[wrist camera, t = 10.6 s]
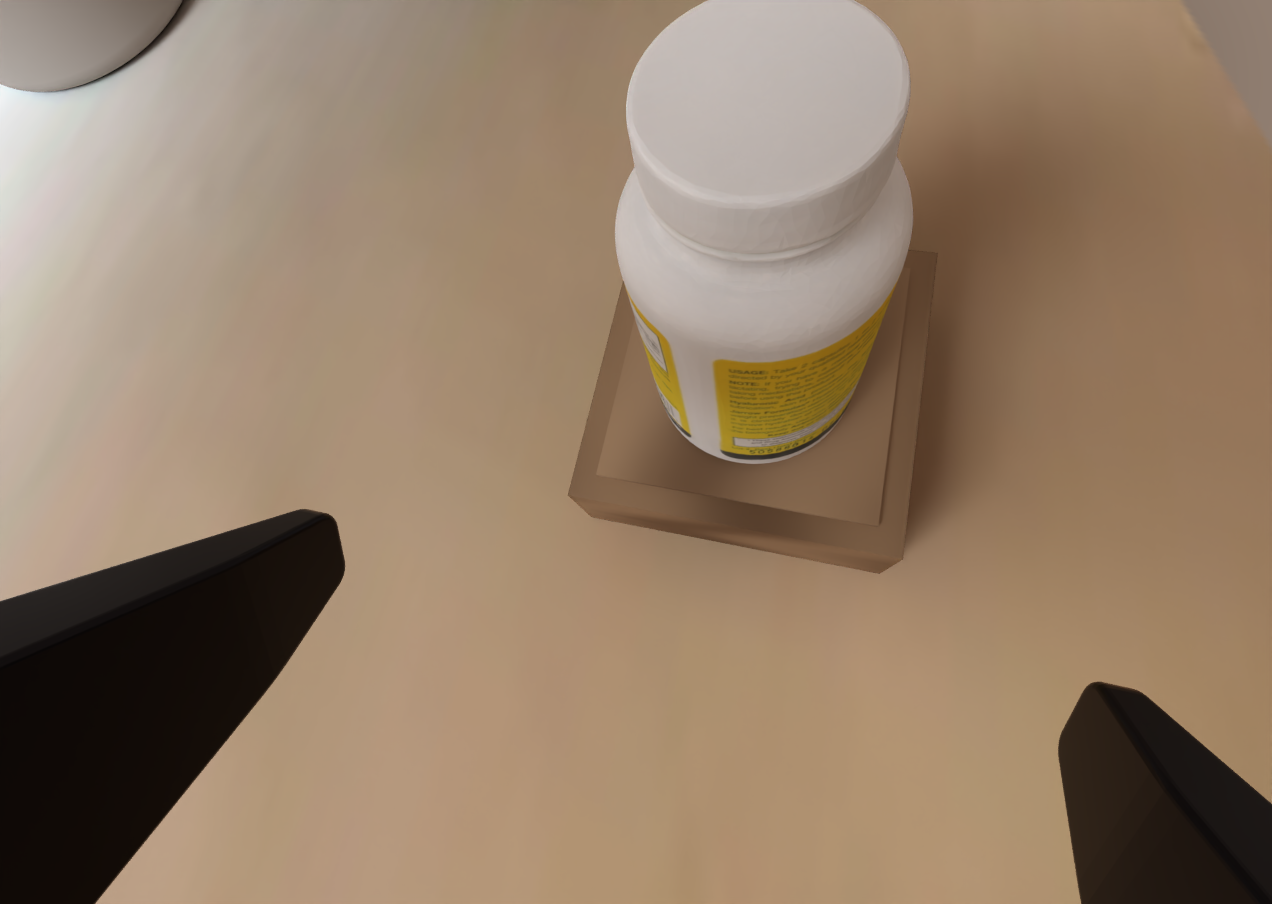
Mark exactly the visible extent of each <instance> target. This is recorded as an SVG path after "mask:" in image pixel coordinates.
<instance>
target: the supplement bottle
mask: <svg viewBox="0 0 1272 904" xmlns="http://www.w3.org/2000/svg"><path fill="white" fill-rule="evenodd" d="M910 84H911V80H910V71H909V65H908V60H907V58H906V55H905V53H904V51H903V48H902V46H901V45H900V43H899V41H898V39H897V37H896V36H895V34H894V33H893V31H892V30H891V29H890V28H889V27H888V26H887V25H886V24H885V22H884V21H883V20H882V19H881V18H880V17H878V16H877V15H876V14H874V13H873V12H872V11H870V10H869V9H868V8H867V7H865V6H863V5H861V4H860V3H858V2H856V1H854V0H708V1H706V2H703V3H701V4H700V5H698V6H696V7H694V8H693V9H691V10H689V11H688V12H686V13H685V14H683V15H681V16H680V17H678V18H677V19H676V20H675V21H673V22H672V23H671V24H670V25H669V26H667V27H666V28H665V29H664V30H663V31H662V32H661V33H660V34H659V35H658V36H657V37H656V38H655V39H654V41H653V42H652V43H651V45H650V46H649V47H648V48H647V50H646V51H645V52H644V54H643V55H642V57H641V59H640V60H639V62H638V64H637V66H636V68H635V70H634V72H633V75H632V78H631V81H630V84H629V89H628V94H627V103H626V121H627V128H628V133H629V138H630V143H631V149H632V155H633V160H634V165H635V167H634V169H633V170H632V172H631V174H630V176H629V178H628V180H627V182H626V185H625V187H624V190H623V192H622V194H621V198H620V201H619V205H618V209H617V215H616V223H615V242H616V252H617V257H618V262H619V266H620V270H621V274H622V278H623V281H624V284H625V288H626V291H627V294H628V297H629V300H630V303H631V307H632V310H633V313H634V316H635V320H636V323H637V326H638V329H639V332H640V336H641V338H642V341H643V345H644V348H645V351H646V354H647V357H648V361H649V364H650V368H651V371H652V373H653V377H654V380H655V383H656V387H657V389H658V392H659V395H660V398H661V401H662V403H663V406H664V408H665V410H666V412H667V414H668V416H669V418H670V419H671V421H672V422H673V424H674V425H675V427H676V428H677V429H678V430H679V431H680V432H681V434H682V435H683V436H684V437H685V438H687V439H688V440H689V441H690V442H691V443H693V444H694V445H695V446H697V447H698V448H700V449H701V450H703V451H705V452H707V453H709V454H711V455H713V456H716V457H718V458H721V459H724V460H728V461H732V462H738V463H746V464H764V463H772V462H777V461H781V460H785V459H788V458H791V457H793V456H796V455H798V454H801V453H802V452H804V451H806V450H808V449H810V448H811V447H813V446H814V445H816V444H817V443H819V442H820V441H821V440H822V439H823V438H825V437H826V436H827V435H828V434H829V433H830V432H831V430H832V429H833V428H834V427H835V426H836V424H837V423H838V422H839V420H840V419H841V417H842V416H843V414H844V412H845V411H846V409H847V407H848V405H849V403H850V401H851V398H852V396H853V393H854V391H855V389H856V386H857V384H858V381H859V379H860V377H861V374H862V372H863V369H864V367H865V365H866V362H867V359H868V356H869V354H870V351H871V349H872V346H873V343H874V341H875V338H876V336H877V333H878V330H879V327H880V325H881V322H882V319H883V317H884V314H885V312H886V309H887V307H888V304H889V302H890V299H891V297H892V294H893V291H894V289H895V287H896V284H897V282H898V279H899V277H900V274H901V271H902V269H903V266H904V262H905V259H906V256H907V252H908V248H909V245H910V241H911V235H912V228H913V205H912V197H911V191H910V187H909V183H908V180H907V177H906V175H905V172H904V170H903V167H902V165H901V163H900V161H899V159H898V157H897V151H898V145H899V141H900V137H901V134H902V130H903V126H904V123H905V119H906V116H907V112H908V106H909V100H910Z"/></svg>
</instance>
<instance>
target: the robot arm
mask: <svg viewBox="0 0 1272 904" xmlns="http://www.w3.org/2000/svg"><path fill="white" fill-rule="evenodd" d="M344 571H345V560H344V555H343V550H342V545H341V541H340V536H339V531H338V526H337V523H336V521H335V519H334V518H333V517H332V516H331V515H329V514H327V513H322V512H318V511H313V510H308V509H300V510H296V511H293V512H289V513H286V514H283V515H280V516H276V517H273V518H270V519H267V520H263V521H260V522H257V523H253V524H250V525H247V526H244V527H240V528H237V529H234V530H231V531H227V532H224V533H221V534H218V535H214V536H211V537H208V538H205V539H201V540H198V541H195V542H192V543H188V544H185V545H182V546H179V547H175V548H172V549H169V550H166V551H162V552H159V553H156V554H153V555H149V556H146V557H143V558H140V559H136V560H133V561H130V562H126V563H123V564H120V565H117V566H113V567H110V568H107V569H104V570H100V571H97V572H94V573H91V574H87V575H84V576H81V577H78V578H74V579H71V580H68V581H65V582H61V583H58V584H55V585H52V586H48V587H45V588H42V589H39V590H35V591H32V592H29V593H26V594H22V595H19V596H16V597H13V598H9V599H6V600H3V601H0V904H95V903H96V902H97V901H98V899H99V898H100V897H101V896H102V894H103V893H104V892H105V891H106V890H107V888H108V887H109V886H110V885H111V883H112V882H113V881H114V880H115V878H116V877H117V876H118V875H119V873H120V872H121V871H122V870H123V868H124V867H125V866H126V865H127V863H128V862H129V861H130V860H131V859H132V857H133V856H134V855H135V854H136V852H137V851H138V850H139V849H140V847H141V846H142V845H143V844H144V842H145V841H146V840H147V839H148V837H149V836H150V835H151V834H152V832H153V831H154V830H155V829H156V828H157V826H158V825H159V824H160V823H161V821H162V820H163V819H164V818H165V816H166V815H167V814H168V813H169V811H170V810H171V809H172V808H173V806H174V805H175V804H176V803H177V802H178V800H179V799H180V798H181V797H182V795H183V794H184V793H185V792H186V790H187V789H188V788H189V787H190V785H191V784H192V783H193V782H194V780H195V779H196V778H197V777H198V775H199V774H200V773H201V772H202V771H203V769H204V768H205V767H206V766H207V764H208V763H209V762H210V761H211V759H212V758H213V757H214V756H215V754H216V753H217V752H218V751H219V749H220V748H221V747H222V746H223V744H224V743H225V742H226V741H227V740H228V738H229V737H230V736H231V735H232V733H233V732H234V731H235V730H236V728H237V727H238V726H239V725H240V723H241V722H242V721H243V720H244V718H245V717H246V716H247V715H248V713H249V712H250V711H251V710H252V709H253V707H254V706H255V705H256V704H257V702H258V701H259V700H260V699H261V697H262V696H263V695H264V694H265V692H266V691H267V690H268V688H269V687H270V686H271V684H272V683H273V682H274V681H275V679H276V678H277V676H278V675H279V674H280V672H281V671H282V669H283V668H284V666H285V665H286V664H287V662H288V661H289V659H290V658H291V656H292V655H293V653H294V652H295V650H296V649H297V647H298V646H299V644H300V643H301V641H302V640H303V638H304V637H305V635H306V634H307V632H308V631H309V629H310V628H311V626H312V625H313V623H314V622H315V620H316V619H317V617H318V616H319V614H320V613H321V611H322V610H323V608H324V607H325V605H326V604H327V602H328V601H329V599H330V598H331V596H332V595H333V593H334V592H335V590H336V589H337V587H338V586H339V584H340V582H341V580H342V578H343V576H344ZM1058 756H1059V763H1060V770H1061V777H1062V783H1063V790H1064V796H1065V803H1066V810H1067V816H1068V823H1069V829H1070V836H1071V843H1072V849H1073V856H1074V862H1075V869H1076V876H1077V882H1078V888H1079V893H1080V899H1081V904H1272V804H1271V803H1270V802H1269V801H1268V800H1267V799H1265V798H1264V797H1263V796H1262V795H1261V794H1260V793H1258V792H1257V791H1256V790H1255V789H1254V788H1253V787H1251V786H1250V785H1249V784H1248V783H1247V782H1246V781H1244V780H1243V779H1242V778H1241V777H1240V776H1239V775H1237V774H1236V773H1235V772H1234V771H1233V770H1232V769H1231V768H1229V767H1228V766H1227V765H1226V764H1225V763H1224V762H1222V761H1221V760H1220V759H1219V758H1218V757H1217V756H1215V755H1214V754H1213V753H1212V752H1211V751H1210V750H1208V749H1207V748H1206V747H1205V746H1204V745H1203V744H1202V743H1200V742H1199V741H1198V740H1197V739H1196V738H1195V737H1193V736H1192V735H1191V734H1190V733H1189V732H1188V731H1186V730H1185V729H1184V728H1183V727H1182V726H1181V725H1179V724H1178V723H1177V722H1176V721H1175V720H1174V719H1172V718H1171V717H1170V716H1169V715H1168V714H1167V713H1166V712H1164V711H1163V710H1162V709H1161V708H1160V707H1159V706H1157V705H1156V704H1155V703H1154V702H1153V701H1152V700H1150V699H1149V698H1148V697H1147V696H1146V695H1144V694H1143V693H1141V692H1139V691H1137V690H1135V689H1131V688H1127V687H1122V686H1118V685H1113V684H1108V683H1104V682H1093V683H1091V684H1089V685H1088V686H1087V687H1086V688H1085V690H1084V691H1083V693H1082V695H1081V696H1080V698H1079V700H1078V702H1077V704H1076V706H1075V708H1074V710H1073V712H1072V713H1071V715H1070V717H1069V719H1068V721H1067V723H1066V725H1065V727H1064V729H1063V730H1062V733H1061V735H1060V739H1059V746H1058Z"/></svg>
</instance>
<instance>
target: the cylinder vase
mask: <svg viewBox="0 0 1272 904" xmlns="http://www.w3.org/2000/svg"><path fill="white" fill-rule="evenodd" d="M181 2H182V0H0V84H2V85H4V86H7V87H10V88H14V89H18V90H23V91H31V92H49V91H58V90H64V89H68V88H72V87H76V86H79V85H83V84H85V83H88V82H91V81H93V80H95V79H98V78H100V77H102V76H104V75H106V74H108V73H110V72H112V71H114V70H115V69H117V68H119V67H120V66H122V65H123V64H125V63H126V62H128V61H129V60H131V59H132V58H133V57H135V56H136V55H137V54H139V53H140V52H141V51H142V50H143V49H145V48H146V47H147V46H148V45H149V44H150V43H151V42H152V41H153V40H154V39H155V38H156V37H157V36H158V35H159V34H160V33H161V32H162V30H163V29H164V28H165V27H166V26H167V24H168V23H169V22H170V20H171V19H172V17H173V16H174V14H175V13H176V11H177V10H178V8H179V6H180V4H181Z"/></svg>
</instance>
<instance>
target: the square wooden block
mask: <svg viewBox="0 0 1272 904" xmlns="http://www.w3.org/2000/svg"><path fill="white" fill-rule="evenodd" d="M936 261H937V253H933V252H923V251H912V250H908V252H907V256H906V259H905V262H904V266H903V269H902V271H901V274H900V277H899V279H898V282H897V284H896V287H895V289H894V291H893V294H892V297H891V299H890V302H889V304H888V307H887V309H886V312H885V314H884V317H883V319H882V322H881V325H880V327H879V330H878V333H877V336H876V338H875V341H874V343H873V346H872V349H871V351H870V354H869V356H868V359H867V362H866V365H865V367H864V369H863V372H862V374H861V377H860V379H859V381H858V384H857V386H856V389H855V391H854V393H853V396H852V398H851V401H850V403H849V405H848V407H847V409H846V411H845V412H844V414H843V416H842V417H841V419H840V420H839V422H838V423H837V424H836V426H835V427H834V428H833V429H832V430H831V432H830V433H829V434H828V435H827V436H826V437H825V438H823V439H822V440H821V441H820V442H819V443H817V444H816V445H814V446H813V447H811V448H810V449H808V450H806V451H804V452H802V453H801V454H798V455H796V456H793V457H791V458H788V459H785V460H781V461H777V462H772V463H764V464H746V463H738V462H732V461H728V460H724V459H721V458H718V457H716V456H713V455H711V454H709V453H707V452H705V451H703V450H701V449H700V448H698V447H697V446H695V445H694V444H693V443H691V442H690V441H689V440H688V439H687V438H685V437H684V436H683V435H682V434H681V432H680V431H679V430H678V429H677V428H676V427H675V425H674V424H673V422H672V421H671V419H670V418H669V416H668V414H667V412H666V410H665V408H664V406H663V403H662V401H661V398H660V395H659V392H658V389H657V387H656V383H655V380H654V377H653V373H652V371H651V368H650V364H649V361H648V357H647V354H646V351H645V348H644V345H643V341H642V338H641V336H640V332H639V329H638V326H637V323H636V320H635V316H634V313H633V310H632V307H631V303H630V300H629V297H628V294H627V291H626V288H625V284H624V281H623V284H622V287H621V291H620V295H619V299H618V303H617V307H616V311H615V314H614V318H613V322H612V326H611V330H610V334H609V338H608V342H607V345H606V349H605V353H604V357H603V361H602V365H601V369H600V373H599V376H598V380H597V384H596V388H595V392H594V396H593V400H592V404H591V407H590V411H589V415H588V419H587V423H586V427H585V431H584V434H583V438H582V442H581V446H580V450H579V454H578V458H577V462H576V465H575V469H574V473H573V477H572V481H571V485H570V489H569V493H568V496H569V497H570V498H572V499H573V500H574V501H575V502H576V503H577V504H578V505H579V506H580V507H581V508H582V509H584V510H585V511H586V512H587V513H588V514H589V515H590V516H591V517H595V518H600V519H605V520H610V521H615V522H620V523H625V524H630V525H635V526H640V527H645V528H651V529H656V530H661V531H666V532H671V533H676V534H681V535H686V536H691V537H696V538H701V539H706V540H712V541H717V542H722V543H727V544H732V545H737V546H742V547H747V548H752V549H757V550H762V551H767V552H773V553H778V554H783V555H788V556H793V557H798V558H803V559H808V560H813V561H818V562H823V563H828V564H834V565H839V566H844V567H849V568H854V569H859V570H864V571H869V572H874V573H879V574H880V573H881V572H883V571H884V570H886V569H888V568H889V567H891V566H892V565H894V564H896V563H897V562H899V561H900V560H902V559H903V553H904V545H905V536H906V527H907V518H908V509H909V500H910V491H911V483H912V474H913V465H914V456H915V447H916V438H917V429H918V420H919V412H920V403H921V394H922V385H923V376H924V367H925V358H926V349H927V341H928V332H929V323H930V314H931V305H932V296H933V287H934V279H935V270H936Z"/></svg>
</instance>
